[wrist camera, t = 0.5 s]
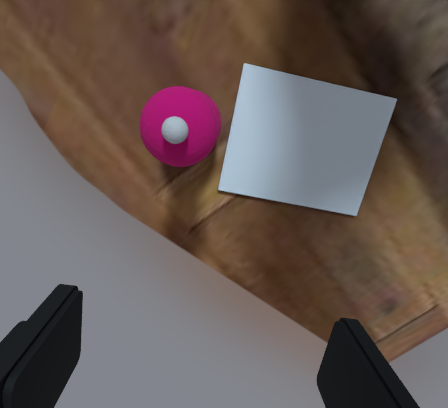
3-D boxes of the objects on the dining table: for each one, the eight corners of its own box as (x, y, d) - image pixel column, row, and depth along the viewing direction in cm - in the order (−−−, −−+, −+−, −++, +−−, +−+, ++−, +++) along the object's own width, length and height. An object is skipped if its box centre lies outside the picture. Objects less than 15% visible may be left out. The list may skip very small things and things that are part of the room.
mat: (243, 63, 36) (244, 63, 36) (394, 99, 38) (397, 98, 38) (218, 188, 41) (218, 189, 40) (354, 214, 43) (356, 215, 42)
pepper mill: (231, 113, 38) (252, 114, 19) (200, 161, 40) (191, 205, 21) (182, 79, 37) (152, 43, 18) (152, 130, 38) (95, 147, 19)
